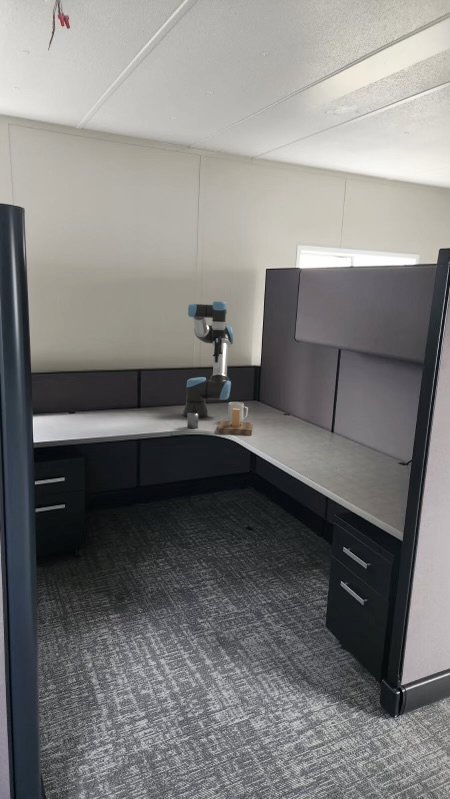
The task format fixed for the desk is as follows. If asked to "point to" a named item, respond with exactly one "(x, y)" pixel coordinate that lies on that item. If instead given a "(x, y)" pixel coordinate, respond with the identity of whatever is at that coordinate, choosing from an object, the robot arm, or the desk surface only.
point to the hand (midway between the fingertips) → (217, 366)
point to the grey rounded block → (192, 420)
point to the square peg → (236, 417)
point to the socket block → (235, 428)
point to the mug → (239, 406)
